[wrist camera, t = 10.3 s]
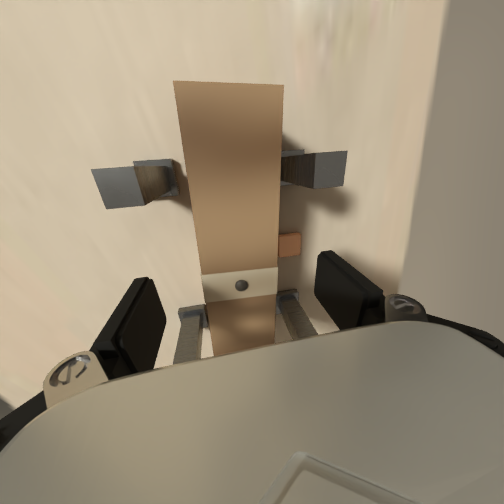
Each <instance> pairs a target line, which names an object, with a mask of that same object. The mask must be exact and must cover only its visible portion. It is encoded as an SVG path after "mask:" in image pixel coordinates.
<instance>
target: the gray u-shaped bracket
mask: <svg viewBox="0 0 504 504" xmlns="http://www.w3.org/2000/svg"><path fill="white" fill-rule="evenodd" d="M346 159H347V151H336V152H323V153H311V154H304V150H289V151H281V174H280V186H281V185H292V184H296V185H300V186H304V187H308V188H312V189H317V188H327V187H338V186H343V183H344V175H345V167H346ZM133 163H134V166H131V167H117V168H103V169H91V171H92V174H93V176H94V179H95V181H96V184H97V187H98V189H99V192H100V194H101V197H102V200H103V202H104V205H105V207H106V209H113V208H123V207H134V206H144V205H146V204H148V203H150V202H152V201H153V200H155V199H157V198H158V197H164V196H175V195H179V194H180V192H179V188H178V183H177V179H176V174H175V170H174V165H173V160H172V159H161V160H146V161H133Z"/></svg>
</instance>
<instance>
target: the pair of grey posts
mask: <svg viewBox="0 0 504 504" xmlns="http://www.w3.org/2000/svg"><path fill="white" fill-rule="evenodd" d="M298 295H299V292H298V291H297V289H293V290H287V291H281V292H277V294H276V310H275V312H276V314H282V317H283V319H284V321H285V323H286V326H287V328H288V330H289V332H290V335H291V337H292V339H293V340H295V339H300V338H305V337H310V336H315V335H318V333H317V332H316V330H315V329H314V327H313V325H312V324H311V322H310V320H309V319H308V317H307V315H306V314H305V312H304V310H303V309H302V307H301V306H300V304H299V302H298ZM178 315H179V318H180V321H181V328H180V333H179V338H178V342H177V347H176V352H175V356H174V361H173V365H174V364H179V363H184V362H188V361H193V360H198V359H201V346H202V333H203V328H204V327H208V320H207V316H206V311H205V307H204V304H203V305H197V306H191V307H185V308H179V311H178Z"/></svg>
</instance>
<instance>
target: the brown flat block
mask: <svg viewBox="0 0 504 504" xmlns="http://www.w3.org/2000/svg"><path fill="white" fill-rule="evenodd" d="M300 246H301V234H300V233H299V232H297V233H289V234H281V235H278V256H279V258H280V257H287V256H294V255H300Z"/></svg>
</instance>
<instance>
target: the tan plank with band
mask: <svg viewBox="0 0 504 504" xmlns="http://www.w3.org/2000/svg"><path fill="white" fill-rule="evenodd" d="M173 85H174V91H175V98H176V105H177V111H178V118H179V125H180V132H181V138H182V145H183V152H184V158H185V165H186V172H187V178H188V185H189V192H190V199H191V205H192V212H193V219H194V225H195V232H196V239H197V246H198V252H199V259H200V266H201V279H202V286H203V292H204V299H205V303H206V306H207V313H208V319H209V326H210V333H211V339H212V346H213V353H214V356H217V355H222V354H226V353H231V352H236V351H241V350H246V349H251V348H255V347H260V346H265V345H270V344H274V337H275V310H276V294H277V282H278V267H277V256H278V228H279V201H280V174H281V147H282V120H283V93H284V85H272V84H246V83H220V82H195V81H173Z"/></svg>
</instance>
